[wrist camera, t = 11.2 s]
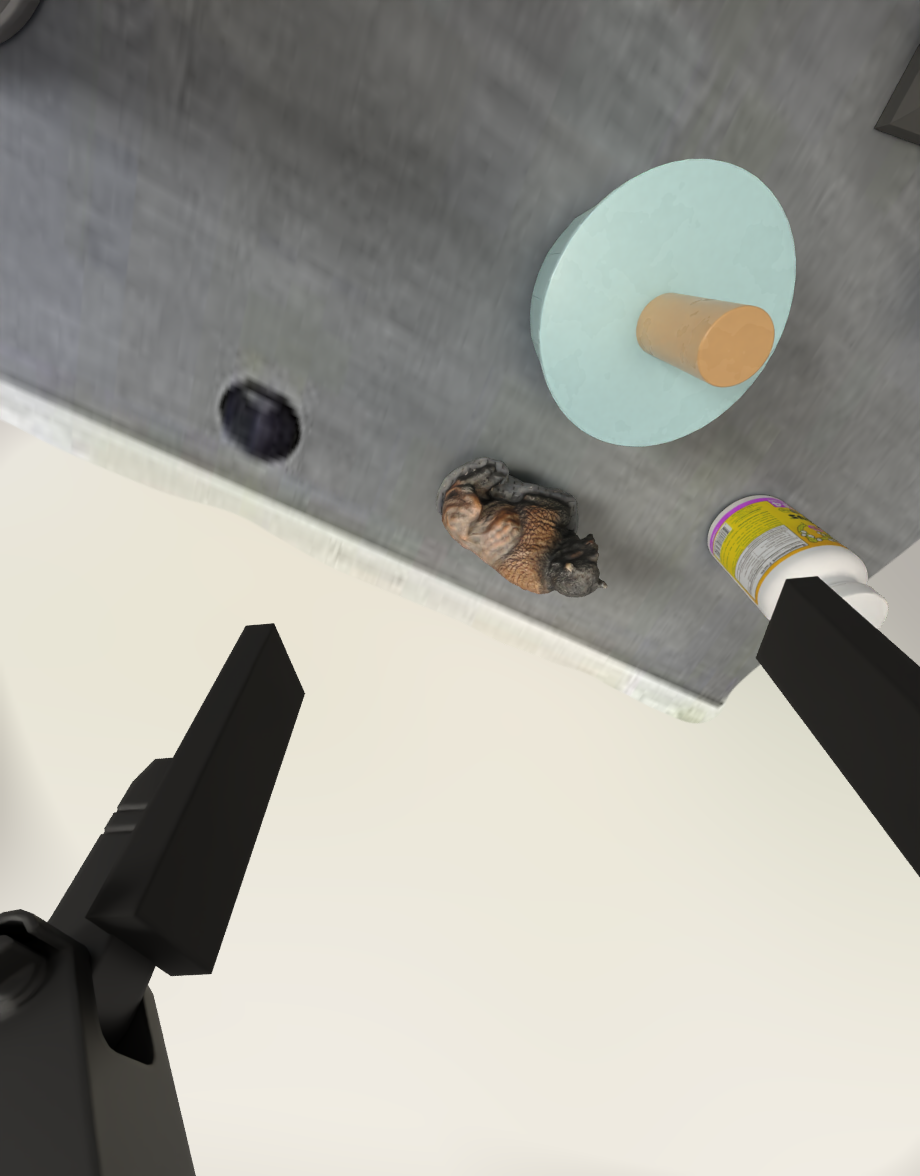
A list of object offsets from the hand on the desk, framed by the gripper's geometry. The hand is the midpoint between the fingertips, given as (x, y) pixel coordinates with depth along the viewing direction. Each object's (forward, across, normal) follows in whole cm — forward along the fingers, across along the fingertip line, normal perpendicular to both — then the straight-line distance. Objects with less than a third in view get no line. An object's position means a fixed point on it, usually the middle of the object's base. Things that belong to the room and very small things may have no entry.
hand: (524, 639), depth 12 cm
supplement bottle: (+26, +22, -13) cm, 36 cm away
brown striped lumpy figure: (+26, +2, -8) cm, 27 cm away
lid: (+18, +9, +4) cm, 21 cm away
